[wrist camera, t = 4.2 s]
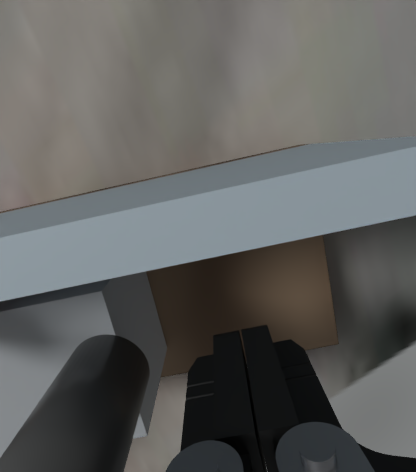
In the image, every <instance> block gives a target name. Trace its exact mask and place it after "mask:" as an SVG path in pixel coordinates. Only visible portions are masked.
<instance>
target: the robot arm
mask: <svg viewBox="0 0 416 472" xmlns="http://www.w3.org/2000/svg"><path fill="white" fill-rule="evenodd" d="M241 332H242V338H243V344H244V349H243V345H242V340H241V336H240V332H239V330H237V331H232V332H227V333H222V334H216V335H213V354H212V355H207V356H202V357H197V359H196V360H195V362H194V363H193V365H192V366H191V368H190V369H189V372H188V382H187V387H188V388H187V392H186V402H185V412H184V422H183V432H182V442H181V452H180V453H179V454H178V455H177V456H176V457H175V458H174V459H173V460H172V461H171V463H170V464H169V466H168V468H167V470H166V472H267V471H268V472H416V458H409V457H400V456H392V455H386V454H382V453H378V452H375V451H372V450H370V449H368V448H365V447H364V446H362V445H360V444H358V443H357V442H356V441H355V439H354V438H353V437H352V436H350V434H348V433H347V432H345V431H344V430H343V429H342V427H341V425H340V424H339V422H338V419H337V417H336V415H335V413H334V411H333V409H332V407H331V405H330V403H329V400H328V398H327V396H326V394H325V392H324V390H323V388H322V386H321V384H320V381H319V379H318V377H317V376H316V373H315V371H314V369H313V367H312V365H311V363H310V360H309V358H308V356H307V354H306V352H305V350H304V348H302V347H301V346H300V345H298V344H297V343H295V342H294V341H293V340H291V339H289V340H284V341H279V342H274V343H273V341H272V338H271V335H270V332H269V329H268V326H267V325H262V326H257V327H252V328H246V329H241ZM244 350H245V354H244ZM245 355H246V358H245ZM246 361H247V363H246ZM247 367H248V368H247ZM265 462H266V463H265ZM266 467H267V469H266Z"/></svg>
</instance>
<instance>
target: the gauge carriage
mask: <svg viewBox="0 0 416 472" xmlns="http://www.w3.org/2000/svg"><path fill="white" fill-rule="evenodd" d="M166 351H167V345H166V342H165V338H164V335H163V331H162V327H161V324H160V320H159V317H158V313H157V309H156V306H155V302H154V299H153V295H152V291H151V288H150V284H149V281H148V277H147V273H146V271H145V272H140V273H135V274H131V275H126V276H121V277H116V278H111V279H107V280H102V281H97V282H92V283H87V284H82V285H78V286H73V287H68V288H63V289H58V290H53V291H49V292H44V293H39V294H34V295H29V296H25V297H20V298H15V299H10V300H5V301H0V472H124V468H125V464H126V461H127V457H128V454H129V450H130V446H131V443H132V439H133V438H139V437H144V436H147V435H148V430H149V426H150V422H151V417H152V413H153V408H154V404H155V399H156V395H157V391H158V386H159V382H160V377H161V373H162V369H163V364H164V360H165V355H166Z"/></svg>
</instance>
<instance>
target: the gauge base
mask: <svg viewBox="0 0 416 472" xmlns="http://www.w3.org/2000/svg"><path fill="white" fill-rule="evenodd" d="M304 145H308V144H304ZM299 146H303V145H297V146H292V147H288V148H284V149H279V150H275V151H270V152H266V153H261V154H257V155H252V156H248V157H243V158H239V159H235V160H230V161H226V162H221V163H217V164H212V165H208V166H203V167H199V168H194V169H190V170H185V171H181V172H177V173H172V174H168V175H163V176H159V177H154V178H150V179H145V180H141V181H136V182H132V183H128V184H123V185H119V186H114V187H110V188H105V189H101V190H96V191H92V192H87V193H83V194H79V195H74V196H70V197H65V198H61V199H56V200H52V201H47V202H43V203H38V204H34V205H30V206H25V207H21V208H16V209H12V210H7V211H3V212H0V213H4V212H9V211H13V210H18V209H22V208H27V207H31V206H36V205H40V204H44V203H49V202H53V201H58V200H62V199H67V198H71V197H76V196H80V195H85V194H89V193H94V192H98V191H102V190H107V189H111V188H116V187H120V186H125V185H129V184H134V183H138V182H143V181H147V180H152V179H156V178H160V177H165V176H169V175H174V174H178V173H183V172H187V171H192V170H196V169H201V168H205V167H210V166H214V165H218V164H223V163H227V162H232V161H236V160H241V159H245V158H250V157H254V156H259V155H263V154H268V153H272V152H276V151H281V150H285V149H290V148H294V147H299ZM146 273H147V277H148V281H149V284H150V288H151V291H152V295H153V299H154V302H155V306H156V309H157V313H158V317H159V320H160V324H161V327H162V331H163V335H164V338H165V342H166V345H167V351H166V355H165V360H164V364H163V369H162V373H161V377H165V376H171V375H176V374H181V373H187V372H189V369H190V368H191V366H192V365H193V363H194V362H195V360H196V359H197V357H202V356H207V355H212V354H213V335H216V334H222V333H227V332H232V331H237V330H239V332H240V336H241V340H242V345H243V349H244V344H243V338H242V332H241V329H246V328H252V327H257V326H262V325H267V326H268V329H269V332H270V335H271V338H272V341H273V343H274V342H279V341H284V340H289V339H291V340H293V341H294V342H295V343H297V344H298V345H300V346H301V347H302V348H304V350H310V349H315V348H320V347H326V346H331V345H336V344H339V343H338V336H337V329H336V322H335V315H334V308H333V301H332V294H331V288H330V281H329V274H328V267H327V260H326V253H325V246H324V239H323V235H319V236H314V237H309V238H304V239H299V240H295V241H290V242H285V243H280V244H275V245H270V246H266V247H261V248H256V249H251V250H246V251H242V252H237V253H232V254H227V255H222V256H217V257H213V258H208V259H203V260H198V261H193V262H189V263H184V264H179V265H174V266H169V267H164V268H160V269H155V270H150V271H146ZM244 354H245V350H244ZM245 358H246V355H245Z"/></svg>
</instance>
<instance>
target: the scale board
mask: <svg viewBox="0 0 416 472" xmlns="http://www.w3.org/2000/svg"><path fill="white" fill-rule="evenodd" d="M415 215H416V136H412V137H399V138H385V139H372V140H358V141H344V142H331V143H317V144H308V145H303V146H299V147H294V148H290V149H285V150H281V151H276V152H272V153H268V154H263V155H259V156H254V157H250V158H245V159H241V160H236V161H232V162H227V163H223V164H218V165H214V166H210V167H205V168H201V169H196V170H192V171H187V172H183V173H178V174H174V175H169V176H165V177H160V178H156V179H152V180H147V181H143V182H138V183H134V184H129V185H125V186H120V187H116V188H111V189H107V190H102V191H98V192H94V193H89V194H85V195H80V196H76V197H71V198H67V199H62V200H58V201H53V202H49V203H44V204H40V205H36V206H31V207H27V208H22V209H18V210H13V211H9V212H4V213H0V301H5V300H10V299H15V298H20V297H25V296H29V295H34V294H39V293H44V292H49V291H53V290H58V289H63V288H68V287H73V286H78V285H82V284H87V283H92V282H97V281H102V280H107V279H111V278H116V277H121V276H126V275H131V274H135V273H140V272H145V271H150V270H155V269H160V268H164V267H169V266H174V265H179V264H184V263H189V262H193V261H198V260H203V259H208V258H213V257H217V256H222V255H227V254H232V253H237V252H242V251H246V250H251V249H256V248H261V247H266V246H270V245H275V244H280V243H285V242H290V241H295V240H299V239H304V238H309V237H314V236H319V235H324V234H328V233H333V232H338V231H343V230H348V229H352V228H357V227H362V226H367V225H372V224H377V223H381V222H386V221H391V220H396V219H401V218H406V217H410V216H415Z"/></svg>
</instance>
